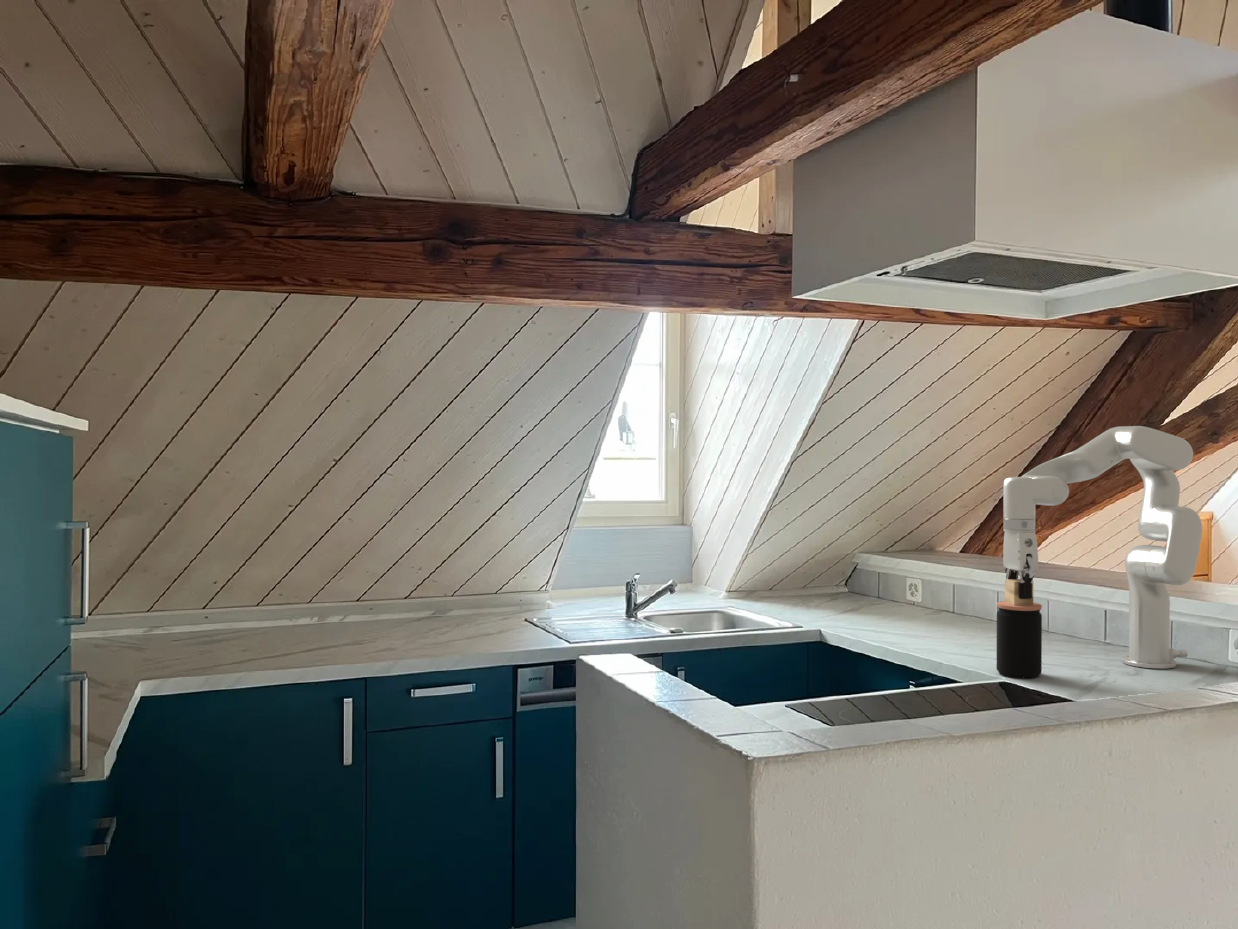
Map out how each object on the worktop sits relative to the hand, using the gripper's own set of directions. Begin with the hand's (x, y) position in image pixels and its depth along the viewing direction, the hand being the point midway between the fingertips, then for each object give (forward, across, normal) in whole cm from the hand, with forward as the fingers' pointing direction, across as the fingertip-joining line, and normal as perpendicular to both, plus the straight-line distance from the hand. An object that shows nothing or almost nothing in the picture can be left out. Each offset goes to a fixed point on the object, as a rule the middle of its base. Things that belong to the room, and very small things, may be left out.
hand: (1019, 596), depth 253 cm
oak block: (+2, 0, 0) cm, 2 cm away
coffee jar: (+20, 0, 0) cm, 20 cm away
